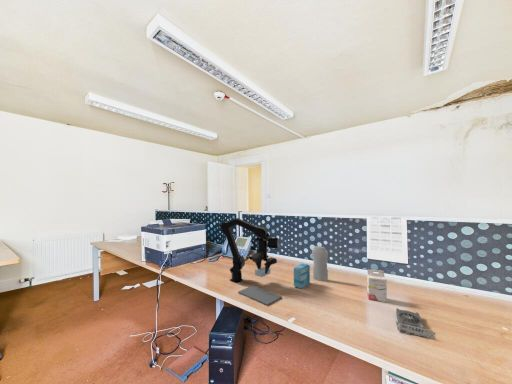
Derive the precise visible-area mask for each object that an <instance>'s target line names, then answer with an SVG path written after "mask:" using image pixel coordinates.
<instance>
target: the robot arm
mask: <svg viewBox="0 0 512 384" xmlns="http://www.w3.org/2000/svg"><path fill="white" fill-rule="evenodd" d="M235 226H237V227H238V226H239V227H241V228H244V229H245V230H248V231H250V232H252V233H253V234H254V235H255V236H256V238H255V239H254V241H255V242H257V248H256V252H255V253H252V254H249V260H250V261H252V262H254V263H255V265H256V267H257V269H260V268H262V261H264V263H263V265H264V267H265V273H266V274H267V272H268V270H269V269H271V266H273V265H275V264H277V262H278V260H277V258H276V257H269V255H268V251H269V249H275V250H279V248H280V241H279V237H272V236H271V234H270V233H268V232H269V231H268V229H267V228H266V227H264V226H259V225H254V224H252V223H249V222H247V221H245V220H243V219H241V218H239V217H237V218H234V219H232V220H230V221H225V222H224V221H223V222H222V223H221V224H220V226H219V227H220V230H221V232H222V233H223V234H224V236H225V237H226V240H227V244H228V247H229V249H230V253H231V256H232V267H231V268H230V269H229V271H230V274H231V278H230V279H229V281H230V282H233V283H239V282H242V281H244V278H242V277H243V276H242V270H243V268H244V267H245V265H246V263H245V262H246V260H245V257H244V255H241V254H240V251H239V249H238V245H237V241H236V240H235V237H234V232H233V231H234V227H235Z"/></svg>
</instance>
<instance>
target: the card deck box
mask: <svg viewBox="0 0 512 384" xmlns="http://www.w3.org/2000/svg"><path fill="white" fill-rule="evenodd" d="M270 274H271V268H269V270H268V272H267V274H266V273H265V266H263V267H262V266H261V268H260V269H258V268H257V269H255V270H254V275H255V276H257V277H260V278H263V277H265V276H267V275H268V276H269V275H270Z"/></svg>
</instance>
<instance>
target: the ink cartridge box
mask: <svg viewBox="0 0 512 384" xmlns="http://www.w3.org/2000/svg"><path fill="white" fill-rule="evenodd" d="M366 276H367V277H366V280H367V281H366V286H367V287H366V288H367V289H366V291H367V292H366V293H367V294H366V295H367V298H368V300H370V301H375V302H376V301H378V302H384V303H387V302H388V298H387V297H388V294H387V292H388V291H387V289H388V286H387V283H388V282H387V281H388V280H387V278H386V277H385V271H384V270H379V269H367V275H366Z"/></svg>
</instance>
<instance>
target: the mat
mask: <svg viewBox="0 0 512 384" xmlns="http://www.w3.org/2000/svg"><path fill="white" fill-rule="evenodd" d="M237 294H240V295H242V296H244V297H246V298H249V299H250V300H253V301H255V302H258V303H260V304H262V305H264V306H266V307H268V306H270V305H273V304H274V303H276V302H277V301H280V299H282V297H283V296H282V295H279V294H276V293H273V292H271V291H269V290H266V289H263V288H261V287H258V286H256V285H250V286H247V287H246V288H244V289H241V290H239V291H237Z"/></svg>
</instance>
